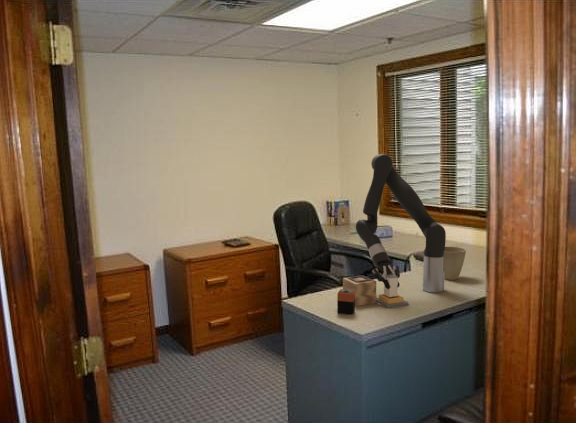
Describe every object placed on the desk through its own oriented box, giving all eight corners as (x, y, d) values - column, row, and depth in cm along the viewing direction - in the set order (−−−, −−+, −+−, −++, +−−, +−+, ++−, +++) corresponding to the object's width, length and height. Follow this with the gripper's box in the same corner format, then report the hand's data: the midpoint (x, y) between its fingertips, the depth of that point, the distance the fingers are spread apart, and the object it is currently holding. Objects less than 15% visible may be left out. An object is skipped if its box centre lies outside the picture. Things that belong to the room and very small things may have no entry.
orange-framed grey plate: (394, 298, 227) (394, 291, 227) (408, 304, 217) (408, 297, 217) (373, 300, 223) (374, 294, 223) (387, 308, 213) (387, 301, 213)
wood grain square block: (363, 296, 231) (363, 274, 229) (375, 302, 221) (376, 280, 219) (342, 299, 226) (342, 276, 225) (354, 305, 216) (355, 282, 215)
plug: (391, 293, 223) (392, 274, 221) (397, 295, 219) (397, 276, 218) (384, 294, 221) (384, 275, 220) (389, 297, 217) (390, 277, 216)
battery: (339, 310, 211) (339, 287, 210) (355, 311, 209) (355, 289, 207) (337, 313, 207) (337, 290, 205) (352, 315, 205) (353, 292, 203)
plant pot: (452, 273, 271) (454, 245, 268) (470, 280, 257) (472, 250, 255) (429, 276, 266) (430, 247, 264) (446, 283, 252) (448, 252, 250)
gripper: (369, 252, 221) (383, 285, 212) (395, 250, 227) (410, 281, 218) (362, 261, 227) (376, 293, 218) (388, 258, 233) (402, 290, 223)
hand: (393, 287), depth 218 cm, fingers closed on plug, 4 cm apart
